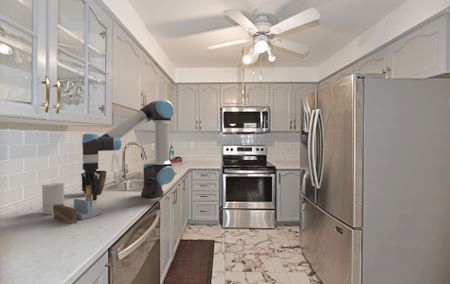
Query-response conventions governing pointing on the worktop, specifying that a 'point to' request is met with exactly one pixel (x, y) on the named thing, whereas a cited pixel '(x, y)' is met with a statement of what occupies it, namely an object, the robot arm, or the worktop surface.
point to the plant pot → (101, 180)
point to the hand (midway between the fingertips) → (90, 205)
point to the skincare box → (52, 196)
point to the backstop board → (65, 214)
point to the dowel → (88, 193)
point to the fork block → (84, 209)
